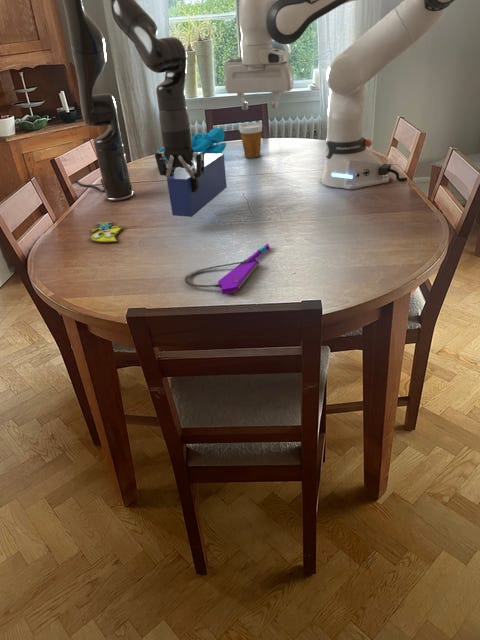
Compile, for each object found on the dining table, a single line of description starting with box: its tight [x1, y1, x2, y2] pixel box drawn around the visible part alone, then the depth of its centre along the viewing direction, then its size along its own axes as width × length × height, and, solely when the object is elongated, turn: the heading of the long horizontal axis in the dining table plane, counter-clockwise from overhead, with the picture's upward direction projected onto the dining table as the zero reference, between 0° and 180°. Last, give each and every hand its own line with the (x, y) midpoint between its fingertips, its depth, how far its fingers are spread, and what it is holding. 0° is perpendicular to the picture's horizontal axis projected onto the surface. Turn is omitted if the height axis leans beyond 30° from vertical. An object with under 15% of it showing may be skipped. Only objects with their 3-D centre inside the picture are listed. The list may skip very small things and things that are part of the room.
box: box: [166, 153, 228, 218], centre depth 141 cm, size 26×6×10 cm, turn 159°
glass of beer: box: [239, 123, 263, 159], centre depth 199 cm, size 10×10×12 cm
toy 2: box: [156, 127, 227, 162], centre depth 201 cm, size 17×11×30 cm
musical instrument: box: [184, 243, 270, 295], centre depth 114 cm, size 24×2×20 cm
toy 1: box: [90, 221, 124, 244], centre depth 141 cm, size 10×1×15 cm
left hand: (184, 190), depth 133 cm, fingers closed on box, 6 cm apart
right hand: (259, 108), depth 143 cm, fingers open, 8 cm apart
